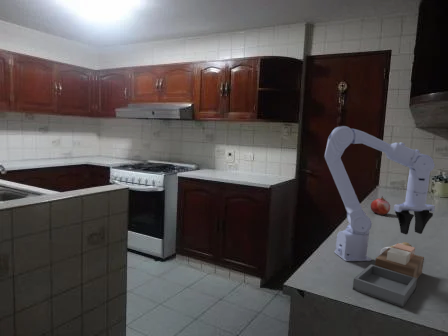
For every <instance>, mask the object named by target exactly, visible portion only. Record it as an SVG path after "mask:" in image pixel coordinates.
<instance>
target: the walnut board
mask: <svg viewBox="0 0 448 336" xmlns="http://www.w3.org/2000/svg"><path fill="white" fill-rule="evenodd" d="M390 249H391V248H388V249H387V250H386V251H384V252H383V253H382V254H381V255H380V254H379V255H378V256H377V257H376V258H375V262H374V265H375V266H378V267H382V268H385V269H388V270H392V271H395V272H398V273H401V274H405V275H408V276H411V277H415V278H417V280H418V279H419V277H420V276H421V275H422V273H423V270H424V268H423V267H424V260H425V257H424V256H423V255H422V256H421V255H417V254H414V256H413V257H412V258H411V260H410V261H409V262H408V263H407V264H406V265H403V264H400V263H396V262H393V261H389V260H387V252H388V251H389V250H390Z"/></svg>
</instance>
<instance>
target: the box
mask: <svg viewBox="0 0 448 336" xmlns="http://www.w3.org/2000/svg"><path fill="white" fill-rule="evenodd" d="M417 281H418V279H417V278H415V277H411V276H408V275H405V274H401V273H398V272H395V271H392V270H388V269H385V268H382V267H378V266H375V264H369V265H368V266H367V267H366V268H364V270H362V271H361V272H360V273H359V274H357V275H356V276H355V277H353V283H352V284H353V285H352V290H353V291H355V292H359V293H362V294H364V295H368V296H369V297H373V298H376V299H379V300H381V301H383V302H387V303H389V304H392V305H394V306H396V307H400V308H403V307H404V306H405V305H406V303H407V302H408V301H409V299H410V297H411V296H412V295H413V293H414V292H415V290H416V287H417Z"/></svg>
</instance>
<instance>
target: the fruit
mask: <svg viewBox="0 0 448 336" xmlns="http://www.w3.org/2000/svg"><path fill="white" fill-rule="evenodd" d="M370 210H371V212H373V213H374V214H377V215H380V216H384V215H386V214H388V213H389V212H390V210H391V205H390V203H389V202H388V201H387V200H386V198H384V197H383V195H381V198H380V197H379V198H376V199H374V200H373V201H371V203H370Z"/></svg>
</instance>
